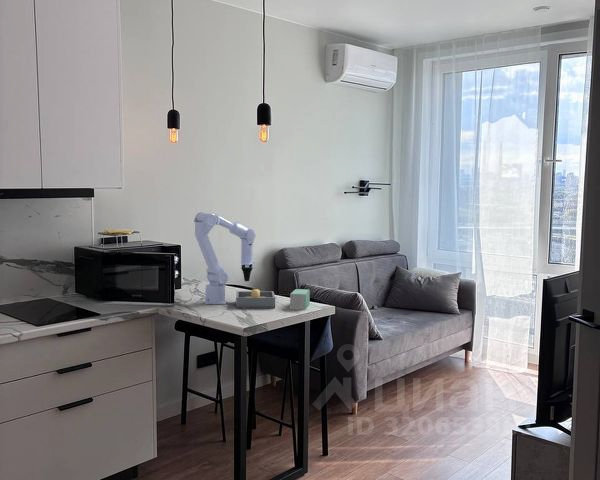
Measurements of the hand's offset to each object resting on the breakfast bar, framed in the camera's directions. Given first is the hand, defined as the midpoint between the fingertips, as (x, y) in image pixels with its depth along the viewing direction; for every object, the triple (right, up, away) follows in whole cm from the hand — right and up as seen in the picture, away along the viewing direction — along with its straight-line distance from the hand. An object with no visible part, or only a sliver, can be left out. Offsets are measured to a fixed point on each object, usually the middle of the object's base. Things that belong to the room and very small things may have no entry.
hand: (246, 279), depth 301 cm
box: (+26, -12, -15) cm, 33 cm away
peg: (+5, -10, -14) cm, 18 cm away
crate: (+5, -11, -14) cm, 18 cm away
